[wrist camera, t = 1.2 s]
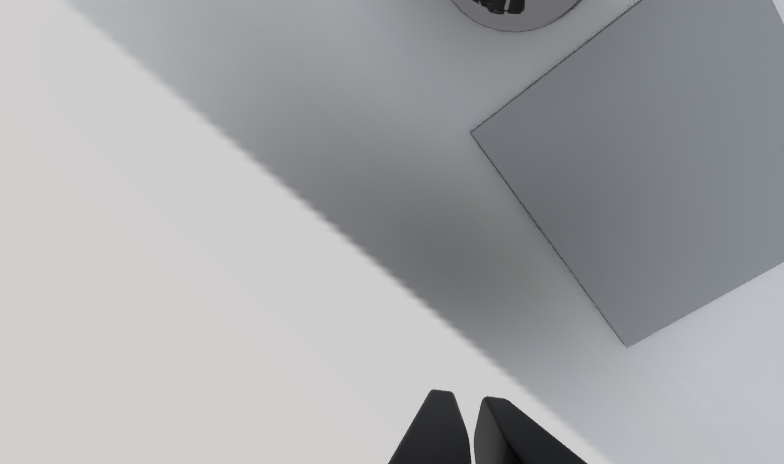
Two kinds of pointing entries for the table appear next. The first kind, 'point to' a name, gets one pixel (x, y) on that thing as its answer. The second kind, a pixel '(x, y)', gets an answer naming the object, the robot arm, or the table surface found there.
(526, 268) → the table surface
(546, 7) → the wine glass
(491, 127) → the placemat
